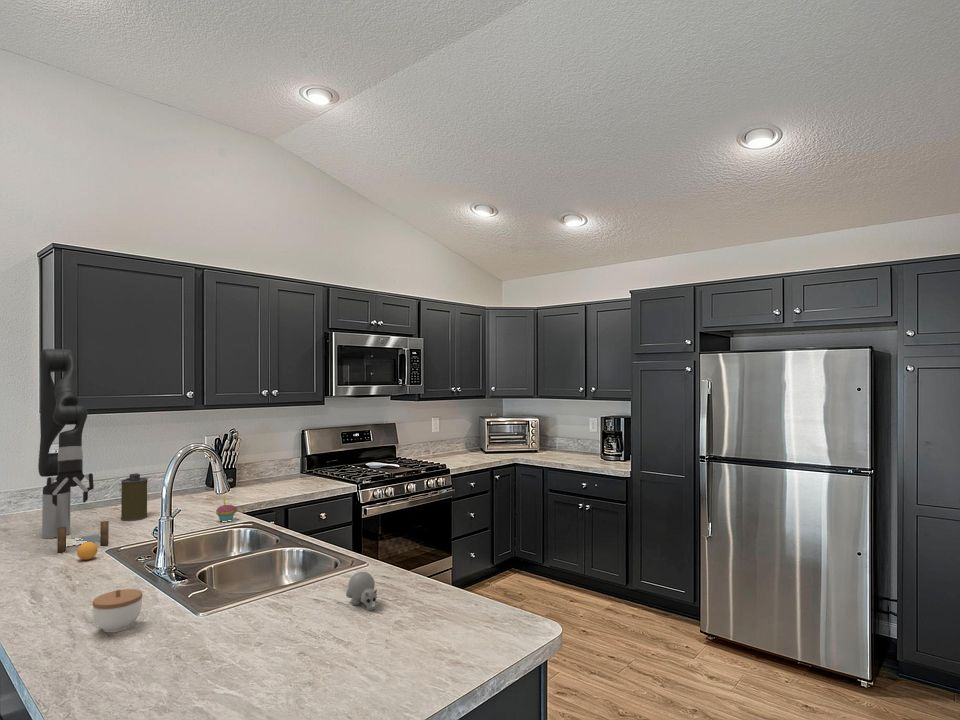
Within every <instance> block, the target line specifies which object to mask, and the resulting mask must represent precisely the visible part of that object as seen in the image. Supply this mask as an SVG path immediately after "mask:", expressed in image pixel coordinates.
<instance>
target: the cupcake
mask: <svg viewBox="0 0 960 720" xmlns="http://www.w3.org/2000/svg"><path fill="white" fill-rule="evenodd" d="M222 498H223V504H222V505H221V506H219V507H217V508H216V511H215V514H216V515H217V517H218V519H219V521H228V520H232V521H233V519H234V516H235V513H237V512H238V508H237V507H236V506H234V505H232V504H226V496H225V494H224V495H222Z"/></svg>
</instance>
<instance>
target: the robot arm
mask: <svg viewBox="0 0 960 720" xmlns="http://www.w3.org/2000/svg"><path fill="white" fill-rule="evenodd" d="M39 356H40V357H39V359H40V360H39V365H40V367H39V368H40V386H41V387H40V388H41V389H40V390H41V391H40V392H41V393H40V407H39V408H40V411H39V416H40V417H39V423H40V427H39V429H40V437H39V438H40V441H39V450H38V452H39V454H38V466H37V467H38V474H39V476H40V477H42V478H43V477H44V478H45V477H47V478H46V485H45V486H43V487H42V499H41V501H42V508H41V509H42V511H41V512H42V513H41V514H42V515H41V516H42V518H41V521H42V522H41V523H42V524H41V526H42V527H41V538H43V539H55V538H54V537H56V538H58V528H59V527H66V536H69V535H70V534H71V503H72V502H71V499H72V497H71V495H72V493H71V488H75V487H77V486H78V488H79V489H81V490H82V491H83V493H82V503H87V501H88V500H89V491H91V490H93V489H94V488H95V487H94V485H95V483H94V475H93V473H85V474H84V472H83V469H84V468H83V463H84V462H83V458H84V456H83V441H82V440H83V431H84V427H85V423H86V421H87V418H88V409H87V407H85V406H83V405H78V404H79V396H78V392H77V390H78V389H77V385H76V383H77V382H76V381H77V380H76V378H77V377H76V358H75V354H74V352H73V350H71V349H66V348H65V349H64V348H63V349H61V348H59V349H58V348H44V349H42V350H41V353H40V355H39ZM51 373H64V375H63V376H62V378H60V379H59V380H58V382H57V383H56V384H55V383H54V381H53V379H52V374H51ZM67 425H70V426H71V425H75V426H74V427H73V429H70V430H66V431H65V430H64V431H62V430H63V429H64V428H65V426H67ZM57 437H58V451H57V452H51V453H50V449H51V446H52V445H53V443H54V441H55V439H56V438H57ZM84 478H85V479H86V480H88V487H86V486H85V485H84V484H83V482H82V481H83V480H84ZM68 534H69V535H68Z"/></svg>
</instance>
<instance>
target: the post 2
mask: <svg viewBox="0 0 960 720" xmlns="http://www.w3.org/2000/svg"><path fill="white" fill-rule="evenodd" d="M109 525H110V521H109V520H102V521H100V526H99V528H100V533H99V536H100V542H99V545H100V546H105V547H108V546H109V529H110V527H109Z"/></svg>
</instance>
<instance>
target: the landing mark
mask: <svg viewBox="0 0 960 720" xmlns="http://www.w3.org/2000/svg"><path fill="white" fill-rule="evenodd" d="M75 538H81V539H83V540H81V539H79V540H76V541H87V542H93V543H95V542H98V543H100V533H99V534H91V535H86V536H78V537H77V536H76V537H71V539H75ZM95 544H96V543H95Z"/></svg>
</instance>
